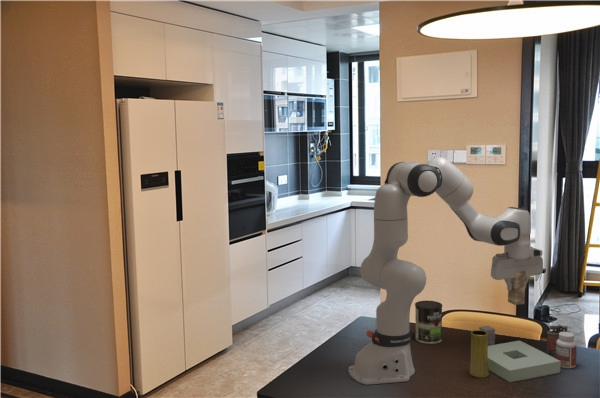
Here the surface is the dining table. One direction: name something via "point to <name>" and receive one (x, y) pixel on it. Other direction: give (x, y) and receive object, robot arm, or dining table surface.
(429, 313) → the coffee can
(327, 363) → the dining table surface
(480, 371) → the vase
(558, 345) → the pill bottle
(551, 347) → the lighter
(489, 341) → the short peg
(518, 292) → the long peg
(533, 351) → the socket plate
